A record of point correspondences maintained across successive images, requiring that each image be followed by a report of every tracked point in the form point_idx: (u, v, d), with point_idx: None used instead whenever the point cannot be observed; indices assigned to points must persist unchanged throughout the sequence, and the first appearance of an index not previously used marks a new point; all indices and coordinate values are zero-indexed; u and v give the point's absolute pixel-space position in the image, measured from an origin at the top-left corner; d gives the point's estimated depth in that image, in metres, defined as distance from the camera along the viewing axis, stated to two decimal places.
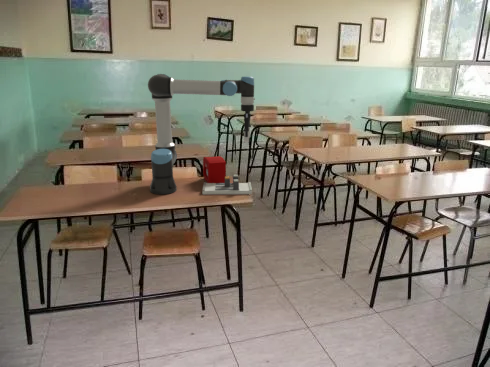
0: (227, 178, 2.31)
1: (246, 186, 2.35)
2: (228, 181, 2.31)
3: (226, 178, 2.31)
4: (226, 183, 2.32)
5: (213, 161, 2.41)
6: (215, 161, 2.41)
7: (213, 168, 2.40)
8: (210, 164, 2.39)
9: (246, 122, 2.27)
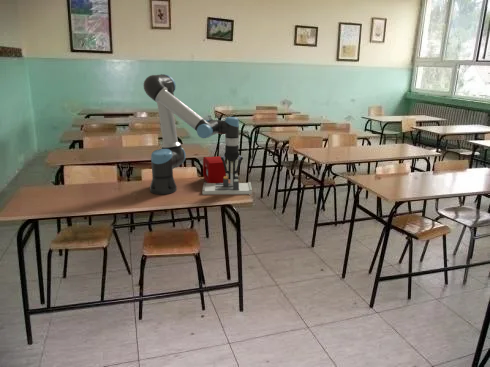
0: (226, 178, 2.31)
1: (246, 186, 2.35)
2: (227, 181, 2.31)
3: (225, 178, 2.31)
4: (224, 183, 2.32)
5: (213, 161, 2.41)
6: (215, 161, 2.41)
7: (213, 168, 2.40)
8: (210, 164, 2.39)
9: None
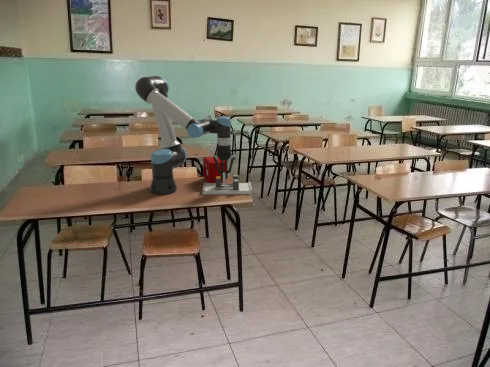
0: (218, 178, 2.31)
1: (246, 186, 2.35)
2: (219, 181, 2.31)
3: (217, 178, 2.31)
4: (217, 183, 2.31)
5: (213, 161, 2.41)
6: None
7: (213, 169, 2.40)
8: (210, 164, 2.39)
9: (216, 164, 2.30)
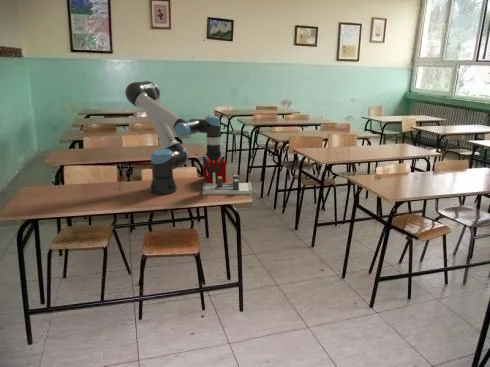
0: (220, 178, 2.31)
1: (246, 186, 2.35)
2: (221, 181, 2.31)
3: (219, 178, 2.31)
4: (218, 183, 2.31)
5: (213, 161, 2.41)
6: None
7: (213, 168, 2.40)
8: (210, 164, 2.39)
9: (205, 164, 2.29)
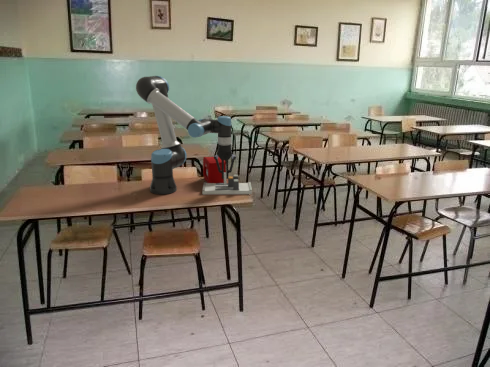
0: (231, 178, 2.31)
1: (246, 186, 2.35)
2: (232, 181, 2.31)
3: (230, 178, 2.31)
4: (229, 183, 2.32)
5: (213, 161, 2.41)
6: (215, 161, 2.41)
7: (213, 168, 2.40)
8: (210, 164, 2.39)
9: None
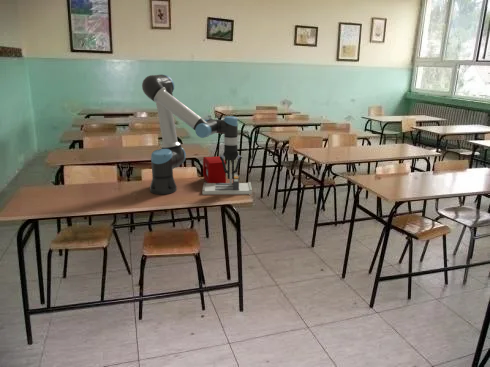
0: (236, 178, 2.31)
1: (246, 186, 2.35)
2: None
3: (235, 178, 2.31)
4: None
5: (213, 161, 2.41)
6: (215, 161, 2.41)
7: (213, 168, 2.40)
8: (210, 164, 2.39)
9: None
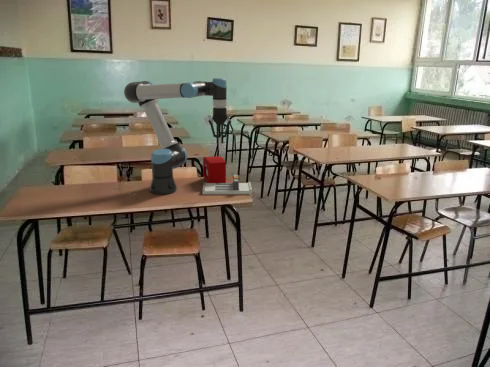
0: (236, 178, 2.31)
1: (246, 186, 2.35)
2: None
3: (235, 178, 2.31)
4: None
5: (213, 161, 2.41)
6: (215, 161, 2.41)
7: (213, 168, 2.40)
8: (210, 164, 2.39)
9: (211, 128, 2.23)
